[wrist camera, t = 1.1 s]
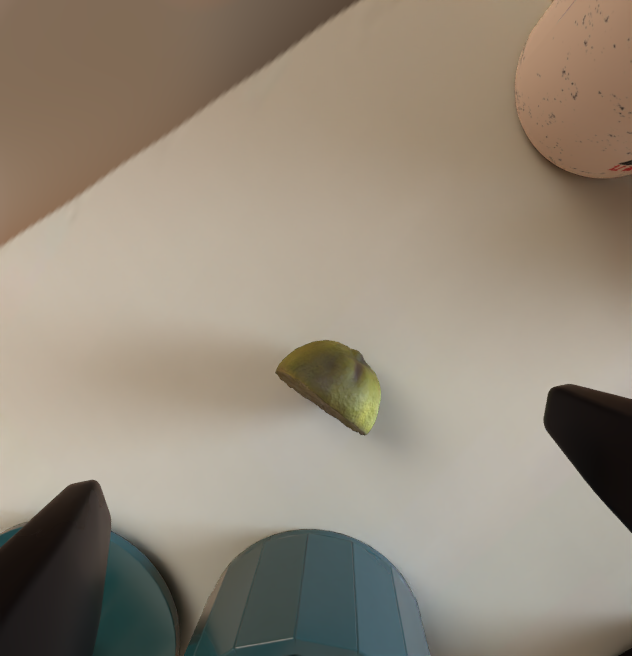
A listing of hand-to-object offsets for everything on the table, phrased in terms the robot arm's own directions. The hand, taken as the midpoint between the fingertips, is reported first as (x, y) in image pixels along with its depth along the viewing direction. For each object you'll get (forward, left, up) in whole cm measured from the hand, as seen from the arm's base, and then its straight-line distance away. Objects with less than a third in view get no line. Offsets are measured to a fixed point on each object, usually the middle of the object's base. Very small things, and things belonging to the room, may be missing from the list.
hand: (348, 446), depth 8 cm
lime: (-1, +1, -13) cm, 13 cm away
